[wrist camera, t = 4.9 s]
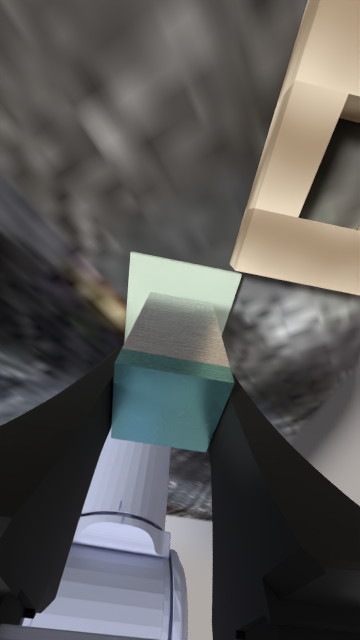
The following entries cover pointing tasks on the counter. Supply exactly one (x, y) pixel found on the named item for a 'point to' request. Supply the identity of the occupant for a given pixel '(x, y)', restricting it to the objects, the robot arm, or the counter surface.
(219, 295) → the plate
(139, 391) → the block
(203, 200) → the counter surface
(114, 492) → the robot arm
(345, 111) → the holder
